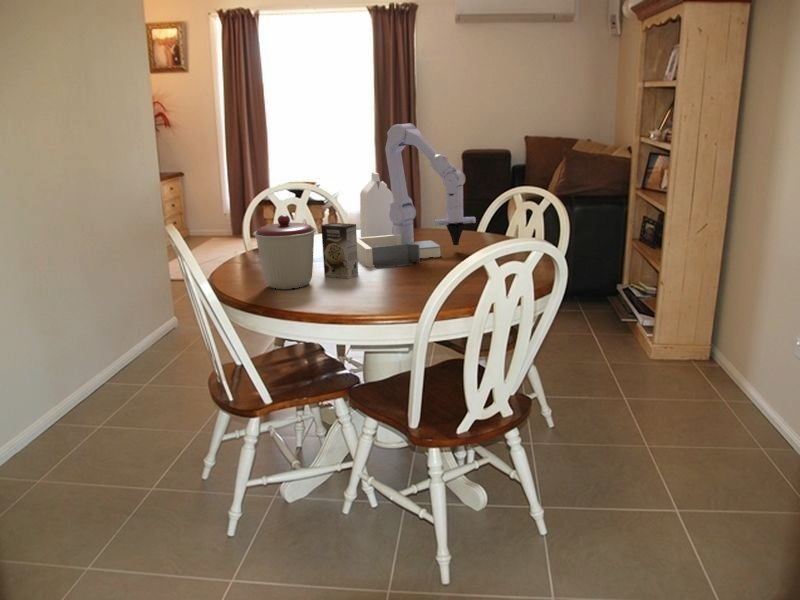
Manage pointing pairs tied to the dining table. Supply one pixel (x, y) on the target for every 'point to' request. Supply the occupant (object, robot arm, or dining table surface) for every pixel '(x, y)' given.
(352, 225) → the coffee box
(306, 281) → the canister
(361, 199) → the milk
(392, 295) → the dining table surface
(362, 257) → the shallow white tray
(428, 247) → the white block
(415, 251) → the grey long angular piece
